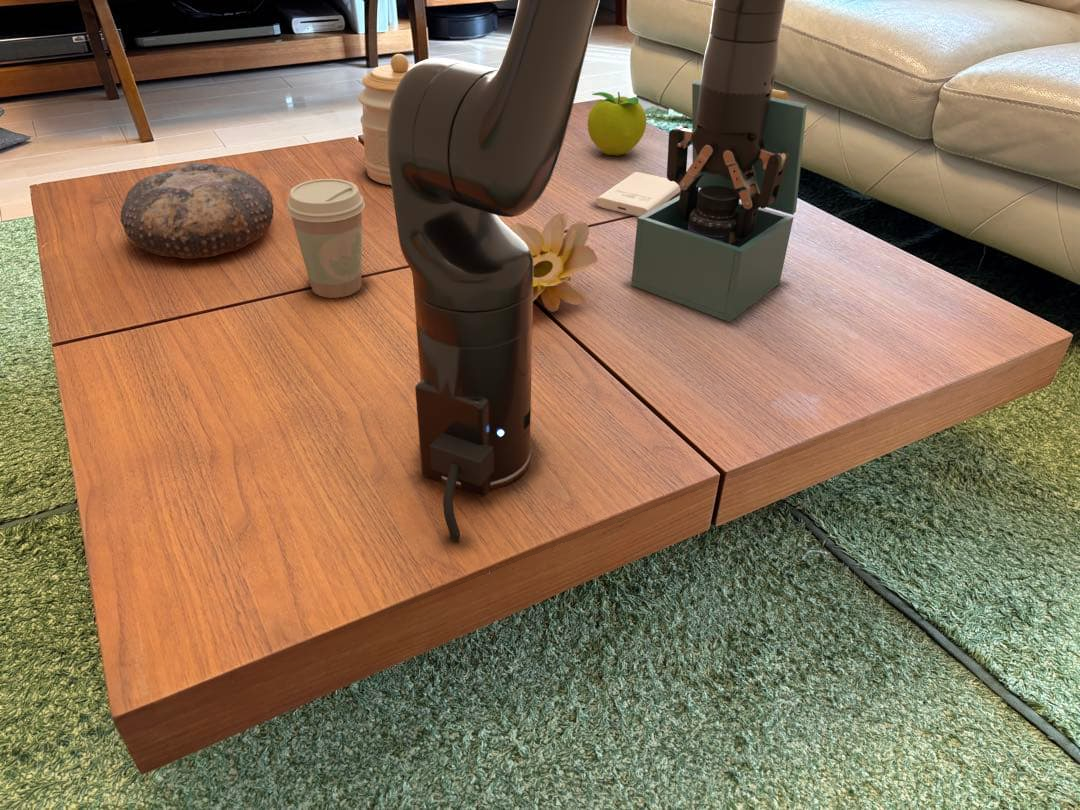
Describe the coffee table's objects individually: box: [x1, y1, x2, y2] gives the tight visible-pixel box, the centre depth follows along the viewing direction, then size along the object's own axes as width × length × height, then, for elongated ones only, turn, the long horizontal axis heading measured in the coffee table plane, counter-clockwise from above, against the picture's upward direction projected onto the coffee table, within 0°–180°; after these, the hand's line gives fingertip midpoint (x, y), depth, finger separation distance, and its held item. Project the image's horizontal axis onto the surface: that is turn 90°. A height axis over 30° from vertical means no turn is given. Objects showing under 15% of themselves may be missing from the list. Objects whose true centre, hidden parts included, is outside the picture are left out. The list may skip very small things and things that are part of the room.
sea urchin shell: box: [120, 162, 275, 259], centre depth 108 cm, size 19×19×10 cm
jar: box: [357, 53, 415, 186], centre depth 126 cm, size 13×13×18 cm
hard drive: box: [596, 171, 680, 218], centre depth 124 cm, size 2×8×12 cm
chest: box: [630, 189, 794, 323], centre depth 100 cm, size 13×14×9 cm
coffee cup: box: [286, 178, 366, 299], centre depth 96 cm, size 8×8×12 cm
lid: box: [691, 80, 808, 216], centre depth 97 cm, size 13×14×5 cm
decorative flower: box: [509, 212, 598, 313], centre depth 97 cm, size 15×11×10 cm
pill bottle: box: [688, 185, 740, 247], centre depth 99 cm, size 6×6×11 cm
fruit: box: [587, 91, 647, 157], centre depth 138 cm, size 9×9×10 cm
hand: (714, 227), depth 98 cm, fingers open, 6 cm apart
